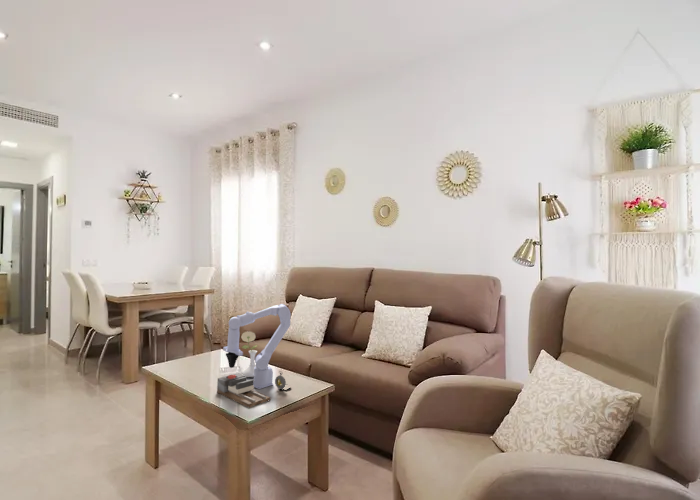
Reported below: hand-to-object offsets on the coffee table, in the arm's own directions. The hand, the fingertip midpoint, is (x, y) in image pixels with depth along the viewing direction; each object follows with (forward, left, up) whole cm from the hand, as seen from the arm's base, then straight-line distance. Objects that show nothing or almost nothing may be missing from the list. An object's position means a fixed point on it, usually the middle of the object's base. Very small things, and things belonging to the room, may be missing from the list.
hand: (231, 367), depth 193 cm
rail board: (+3, +14, -10) cm, 18 cm away
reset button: (+3, +4, -7) cm, 8 cm away
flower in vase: (-18, -9, -11) cm, 23 cm away
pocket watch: (-17, +20, -11) cm, 29 cm away
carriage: (+3, +12, -8) cm, 15 cm away
